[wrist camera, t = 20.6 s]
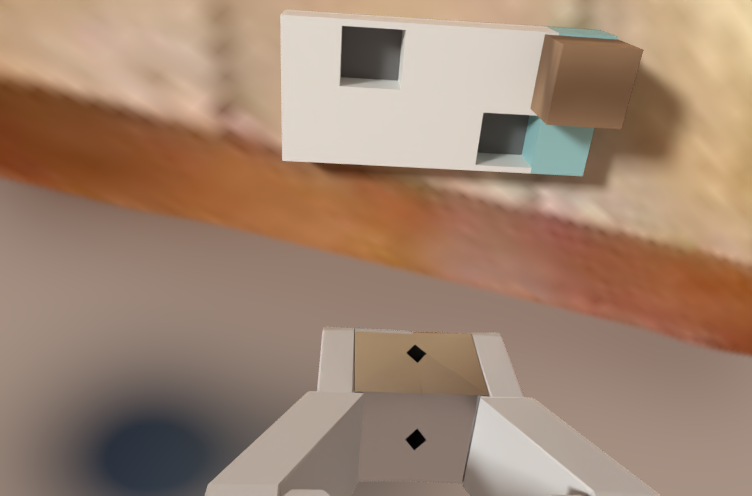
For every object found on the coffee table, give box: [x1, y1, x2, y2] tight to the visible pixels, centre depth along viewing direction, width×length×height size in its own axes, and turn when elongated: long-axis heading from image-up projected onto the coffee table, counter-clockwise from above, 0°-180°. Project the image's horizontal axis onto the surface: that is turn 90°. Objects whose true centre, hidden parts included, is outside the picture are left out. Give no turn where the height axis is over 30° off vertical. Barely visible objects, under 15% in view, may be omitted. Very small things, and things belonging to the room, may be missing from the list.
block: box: [530, 34, 643, 129], centre depth 31 cm, size 4×4×3 cm
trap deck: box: [280, 9, 617, 176], centre depth 34 cm, size 8×18×2 cm, turn 86°
